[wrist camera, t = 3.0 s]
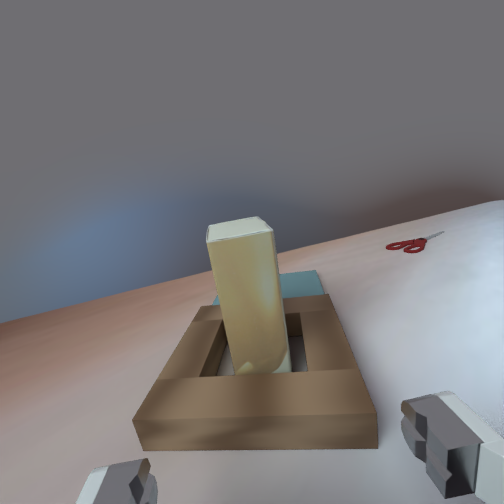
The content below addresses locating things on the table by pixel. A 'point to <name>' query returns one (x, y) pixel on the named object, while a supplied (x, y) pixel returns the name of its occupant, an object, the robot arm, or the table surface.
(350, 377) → the pocket holder
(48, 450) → the table surface
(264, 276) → the skincare box
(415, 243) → the scissors
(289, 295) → the teal mat
